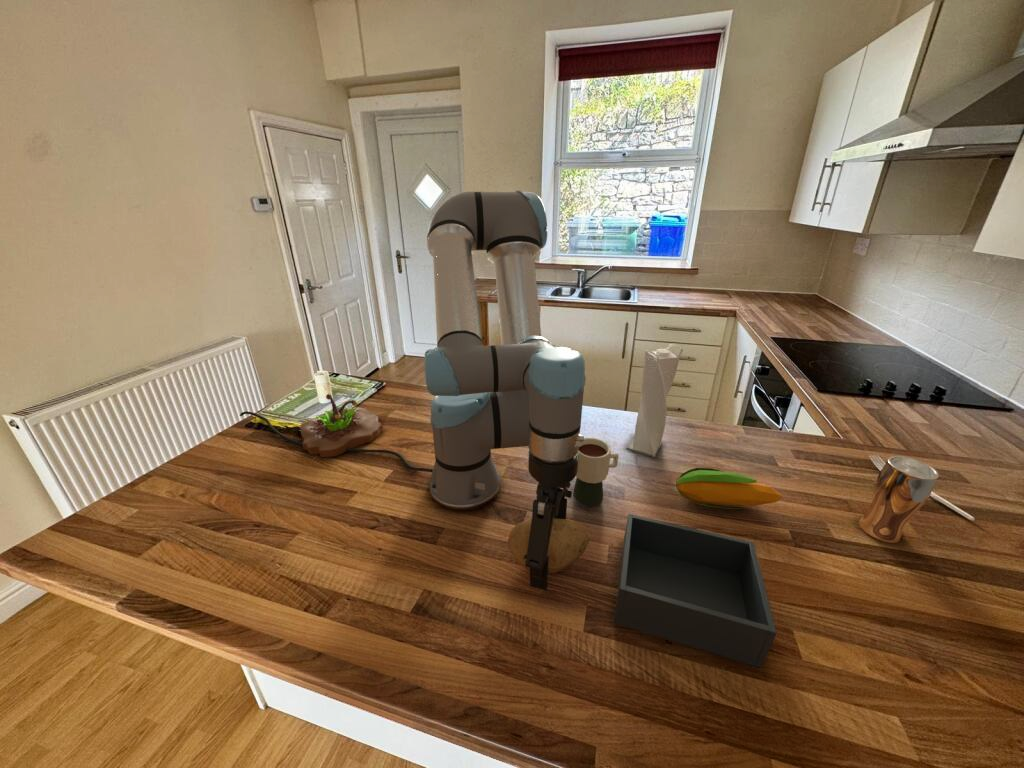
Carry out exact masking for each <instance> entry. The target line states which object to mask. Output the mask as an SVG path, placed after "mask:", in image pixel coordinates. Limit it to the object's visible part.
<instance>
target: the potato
mask: <svg viewBox="0 0 1024 768" xmlns="http://www.w3.org/2000/svg"><path fill="white" fill-rule="evenodd" d="M531 522H532V519H528V520H524V521H520V522H517V524H515V525H514V526H513V527H512V528H511V530H510V532H509V536H508V540H507V545H508V549H509V551H510V554H511V555H512V558H513V559H514V560H515V561H516V562H517V563H518V564H519V565H521V566H522V567H523V568H524V569H526V570H529V571H530V567H526V565H525V561H526V559H524V555H525V554H527V550H528V543H529V536H530V529H531ZM590 541H591V537H590V535H589V533H588V531H587V529H586V527H585V525H583V524H582V523H579V522H577V521H576V520H573V519H568V518H566V519H558V518H554V519H553V525H552V530H551V536H550V542H549V548H548V553H547V556H548V557H549V561H548V574H555V573H558V572H561V571H563V570H564V569H566V568H567V567H568V566H570V565H572V564H573V563H574V562H577V560H579V559H580V558H581V556H583V554H585V552H586V550H587V548H588V546H589V543H590Z"/></svg>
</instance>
